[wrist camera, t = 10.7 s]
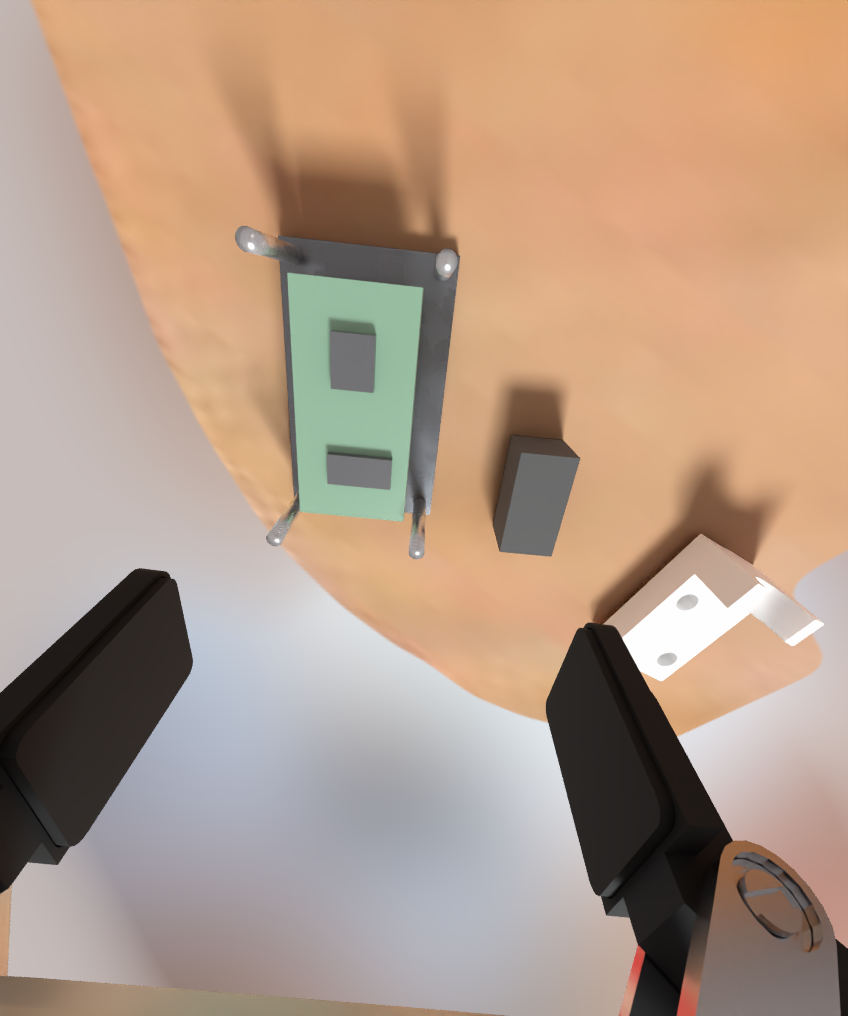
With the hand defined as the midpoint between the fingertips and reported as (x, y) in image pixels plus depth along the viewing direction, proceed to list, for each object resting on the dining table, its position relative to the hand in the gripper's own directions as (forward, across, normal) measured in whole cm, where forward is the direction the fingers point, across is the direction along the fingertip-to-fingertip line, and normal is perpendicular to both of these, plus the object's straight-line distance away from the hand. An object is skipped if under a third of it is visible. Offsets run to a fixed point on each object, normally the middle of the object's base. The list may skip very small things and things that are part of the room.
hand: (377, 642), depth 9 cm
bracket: (+23, -26, +15) cm, 37 cm away
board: (+19, +4, 0) cm, 19 cm away
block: (+23, -10, +5) cm, 25 cm away
